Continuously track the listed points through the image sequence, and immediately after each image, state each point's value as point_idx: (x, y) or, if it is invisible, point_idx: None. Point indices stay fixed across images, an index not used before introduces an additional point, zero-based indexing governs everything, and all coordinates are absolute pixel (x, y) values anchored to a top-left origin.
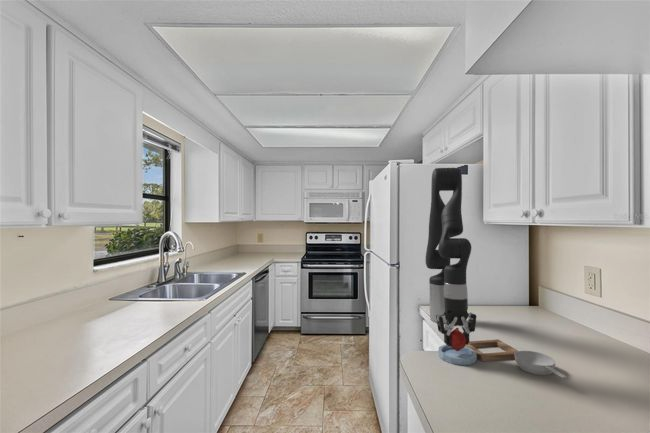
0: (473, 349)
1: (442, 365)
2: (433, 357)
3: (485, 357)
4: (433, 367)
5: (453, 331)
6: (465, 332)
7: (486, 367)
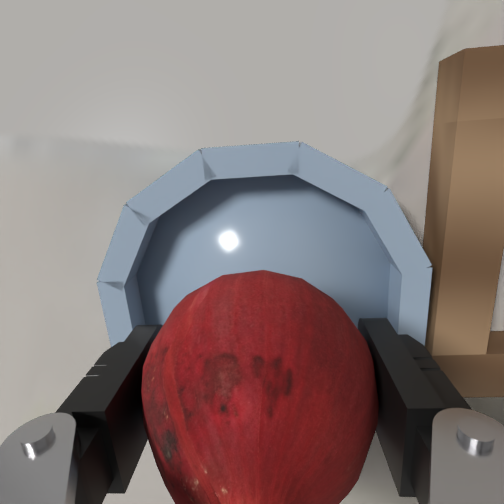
0: (455, 267)
1: None
2: (77, 272)
3: None
4: (42, 402)
5: (187, 499)
6: (420, 487)
7: (375, 443)
